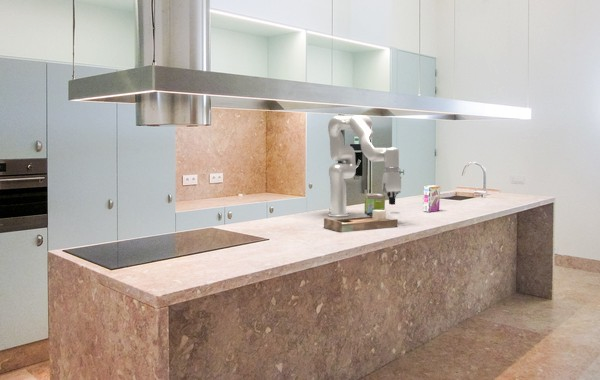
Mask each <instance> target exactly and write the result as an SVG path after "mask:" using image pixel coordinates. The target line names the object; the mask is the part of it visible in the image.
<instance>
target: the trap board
mask: <svg viewBox="0 0 600 380" xmlns="http://www.w3.org/2000/svg"><path fill="white" fill-rule="evenodd" d="M323 228H324V229H328V230H331V231H334V232H338V233H345V232H346V233H347V232H358V231H369V230H376V229H378V228H379V229H387V228H389V229H390V228H398V219H395V218H394V219H389V218H386V219H380V220H377V219H373V218H372V216H371V217H365V216H362V217H361V216H360V217H351V218H350V217H349V218H337V219H335V218H334V219H333V218H332V219H331V218H327V217H324V218H323Z"/></svg>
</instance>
